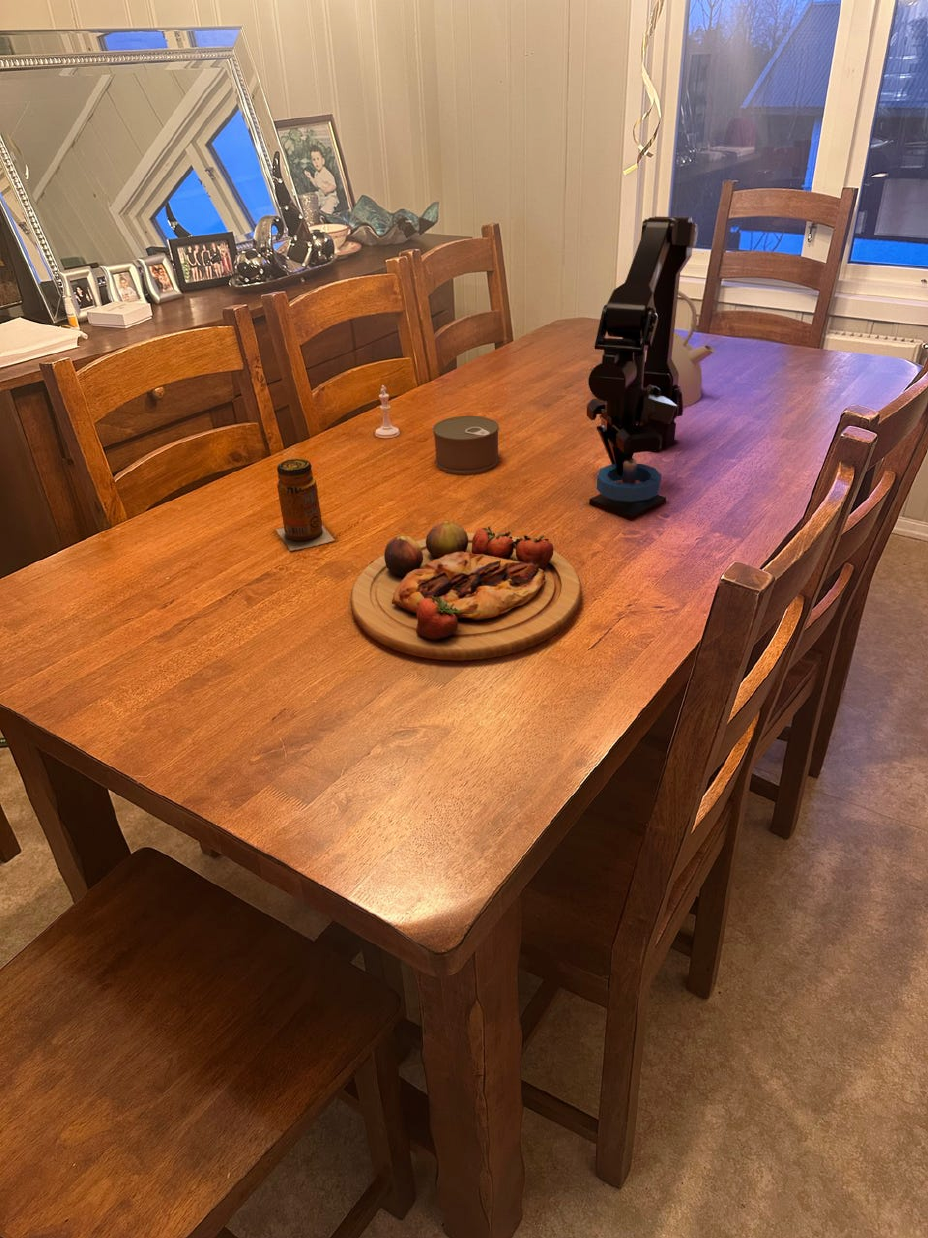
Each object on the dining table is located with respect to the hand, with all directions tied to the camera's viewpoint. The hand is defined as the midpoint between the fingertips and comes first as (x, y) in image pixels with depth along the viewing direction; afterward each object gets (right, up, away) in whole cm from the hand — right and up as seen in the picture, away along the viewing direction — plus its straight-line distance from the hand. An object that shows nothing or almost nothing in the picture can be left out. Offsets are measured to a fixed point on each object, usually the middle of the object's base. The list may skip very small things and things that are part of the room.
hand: (619, 472), depth 146 cm
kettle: (+15, +24, +44) cm, 53 cm away
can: (-25, +5, +17) cm, 31 cm away
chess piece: (-42, +13, +31) cm, 53 cm away
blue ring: (+1, -3, -3) cm, 4 cm away
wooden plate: (-26, -22, -25) cm, 42 cm away
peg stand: (+1, -5, -1) cm, 6 cm away
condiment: (-52, -11, -6) cm, 53 cm away
